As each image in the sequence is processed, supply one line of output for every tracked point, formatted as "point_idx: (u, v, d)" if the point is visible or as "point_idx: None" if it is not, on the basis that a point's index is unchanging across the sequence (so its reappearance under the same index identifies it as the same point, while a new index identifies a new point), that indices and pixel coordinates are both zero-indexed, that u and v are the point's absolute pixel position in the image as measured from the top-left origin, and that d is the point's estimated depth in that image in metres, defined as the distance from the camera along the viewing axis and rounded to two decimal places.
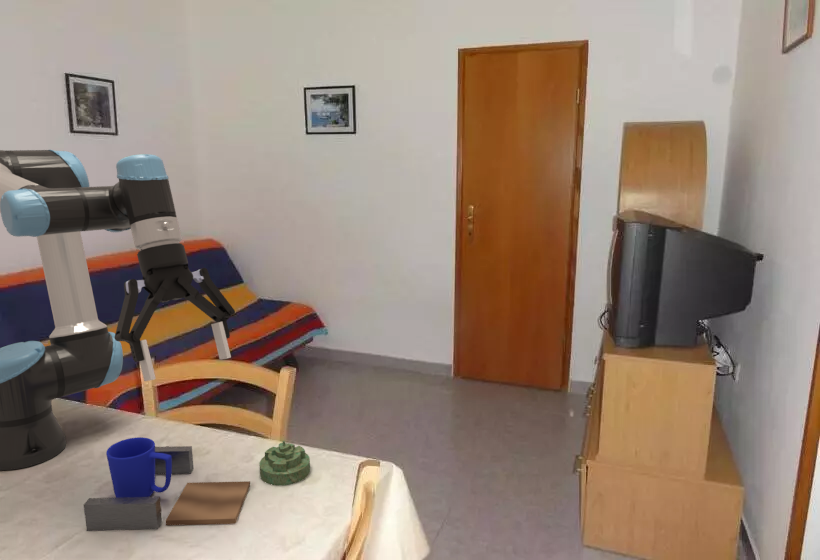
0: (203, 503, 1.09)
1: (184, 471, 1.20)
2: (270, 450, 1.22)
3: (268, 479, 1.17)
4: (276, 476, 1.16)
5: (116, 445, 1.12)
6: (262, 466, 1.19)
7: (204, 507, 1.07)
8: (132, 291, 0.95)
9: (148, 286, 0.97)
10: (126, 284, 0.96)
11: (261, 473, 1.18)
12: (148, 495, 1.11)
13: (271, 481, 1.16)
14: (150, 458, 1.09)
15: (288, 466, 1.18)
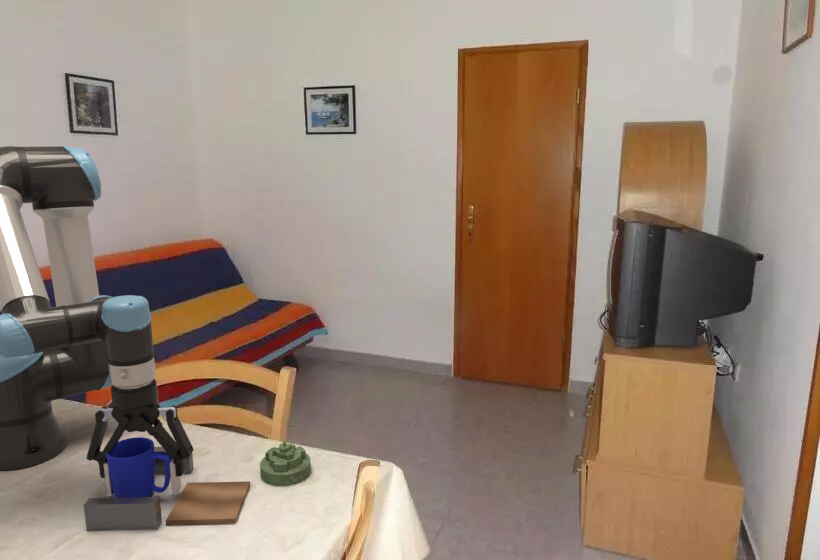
0: (203, 503, 1.09)
1: (184, 471, 1.20)
2: (271, 450, 1.21)
3: (269, 480, 1.16)
4: (277, 477, 1.16)
5: None
6: (263, 466, 1.18)
7: (204, 507, 1.07)
8: (97, 422, 1.07)
9: (113, 417, 1.08)
10: None
11: (262, 474, 1.18)
12: (147, 495, 1.11)
13: (272, 482, 1.16)
14: (149, 458, 1.09)
15: (289, 467, 1.17)
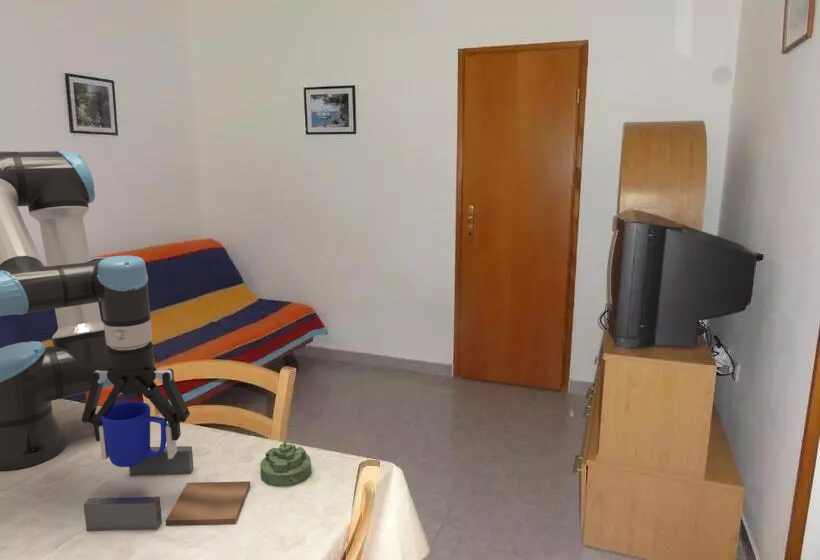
0: (203, 503, 1.09)
1: (184, 471, 1.20)
2: (271, 451, 1.21)
3: (269, 480, 1.16)
4: (277, 477, 1.16)
5: (111, 408, 1.10)
6: (263, 467, 1.18)
7: (204, 507, 1.07)
8: (92, 384, 1.06)
9: (109, 379, 1.06)
10: None
11: (262, 474, 1.18)
12: (143, 459, 1.10)
13: (272, 482, 1.16)
14: (145, 422, 1.08)
15: (289, 467, 1.17)
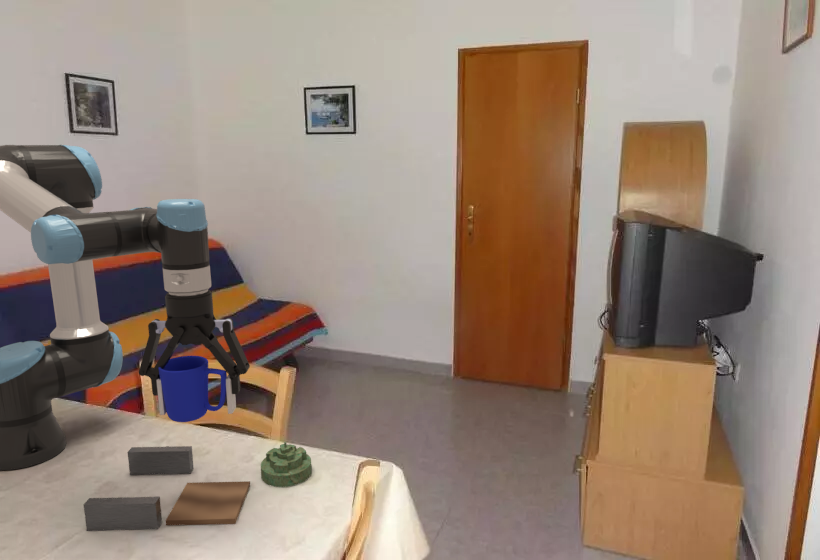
0: (203, 503, 1.09)
1: (184, 471, 1.20)
2: (271, 451, 1.21)
3: (269, 480, 1.16)
4: (277, 477, 1.15)
5: None
6: (263, 467, 1.18)
7: (204, 507, 1.07)
8: (150, 334, 1.01)
9: (167, 329, 1.01)
10: None
11: (262, 475, 1.18)
12: (202, 414, 1.05)
13: (272, 482, 1.16)
14: (204, 374, 1.03)
15: (289, 467, 1.17)
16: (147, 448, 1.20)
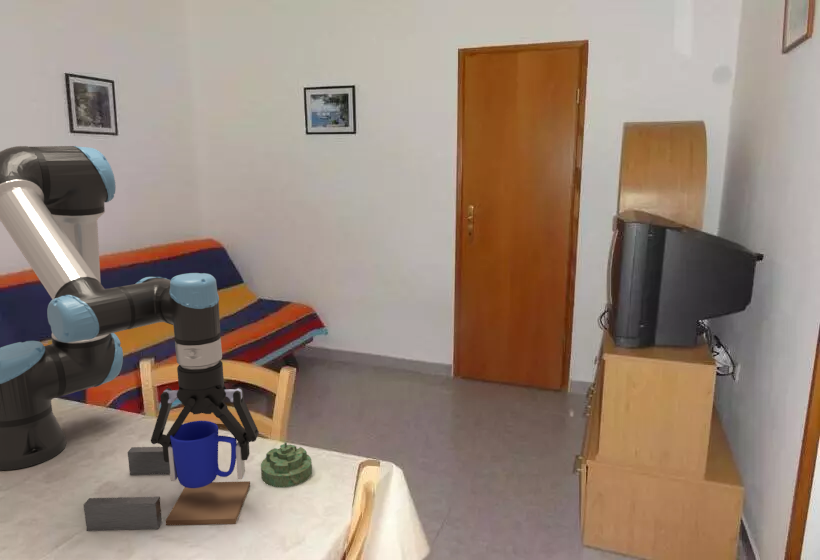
0: (203, 503, 1.09)
1: None
2: (272, 451, 1.21)
3: (270, 481, 1.16)
4: (278, 478, 1.15)
5: None
6: (264, 468, 1.18)
7: (204, 507, 1.07)
8: (162, 404, 1.04)
9: (179, 399, 1.04)
10: None
11: (263, 475, 1.17)
12: (212, 480, 1.08)
13: (273, 483, 1.16)
14: (215, 441, 1.06)
15: (290, 468, 1.17)
16: (147, 448, 1.20)
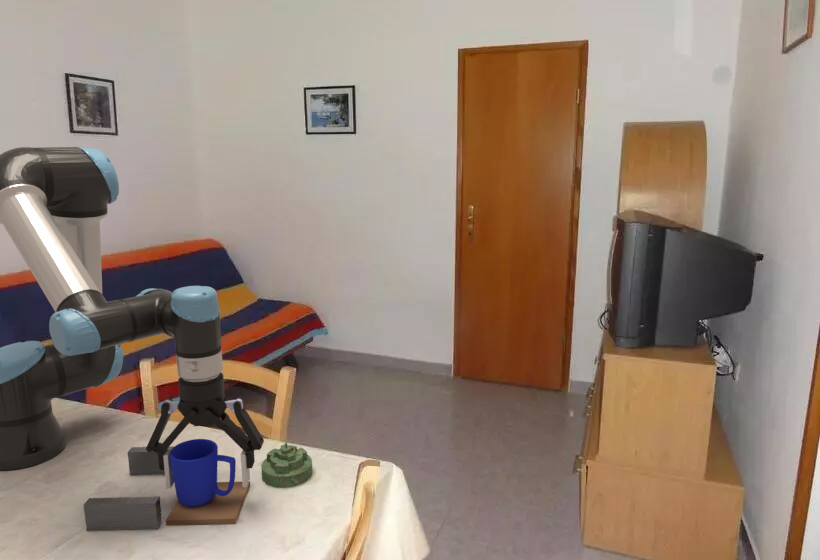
0: None
1: None
2: (272, 452, 1.21)
3: (270, 481, 1.16)
4: (278, 478, 1.15)
5: (178, 446, 1.09)
6: (264, 468, 1.18)
7: (204, 507, 1.07)
8: (162, 414, 1.04)
9: (179, 410, 1.05)
10: None
11: (263, 476, 1.17)
12: (211, 498, 1.08)
13: (273, 483, 1.16)
14: (214, 461, 1.06)
15: (290, 468, 1.17)
16: None
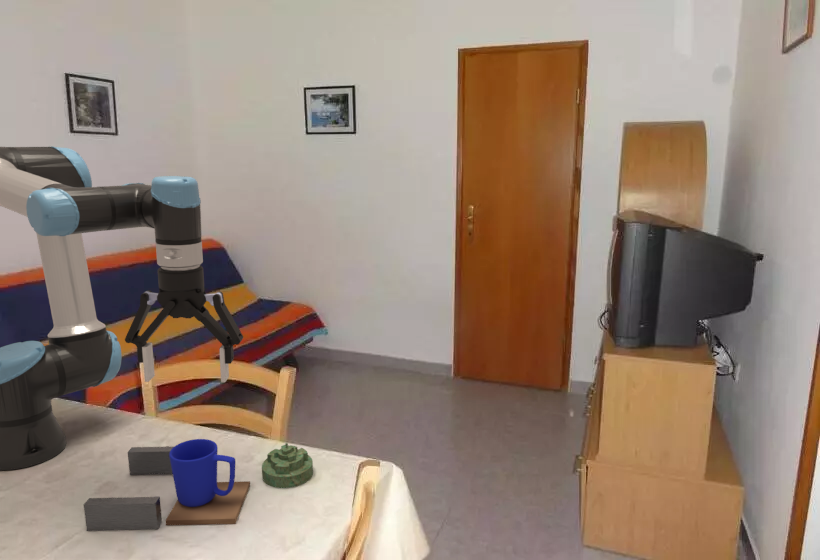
0: None
1: None
2: (273, 452, 1.21)
3: (271, 481, 1.16)
4: (279, 478, 1.15)
5: (178, 447, 1.09)
6: (265, 468, 1.18)
7: (204, 507, 1.07)
8: (141, 304, 1.04)
9: None
10: None
11: (264, 476, 1.17)
12: (210, 498, 1.08)
13: (274, 484, 1.16)
14: (214, 461, 1.06)
15: (291, 468, 1.17)
16: (147, 448, 1.20)
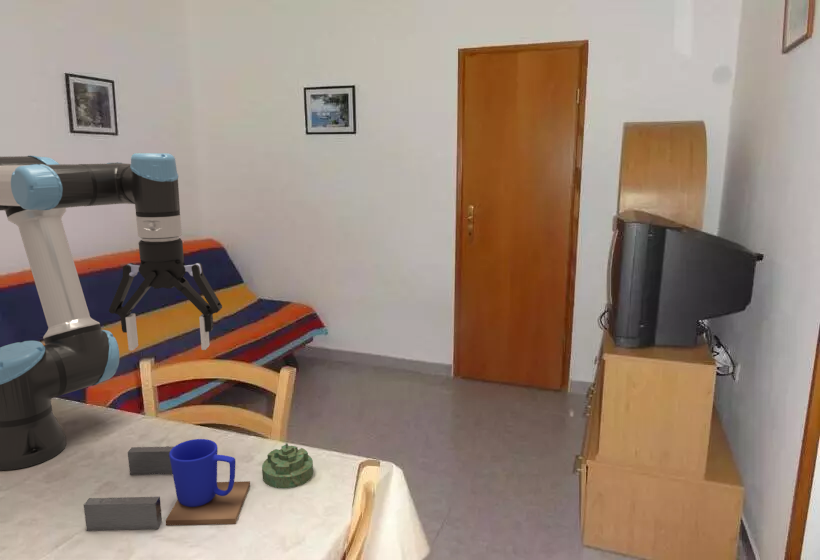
0: None
1: None
2: (273, 452, 1.21)
3: (271, 482, 1.16)
4: (279, 479, 1.15)
5: (178, 447, 1.09)
6: (265, 469, 1.18)
7: (204, 507, 1.07)
8: (123, 276, 1.10)
9: (140, 273, 1.10)
10: None
11: (264, 476, 1.17)
12: (210, 498, 1.08)
13: (274, 484, 1.15)
14: (214, 461, 1.06)
15: (291, 469, 1.17)
16: (147, 448, 1.20)
